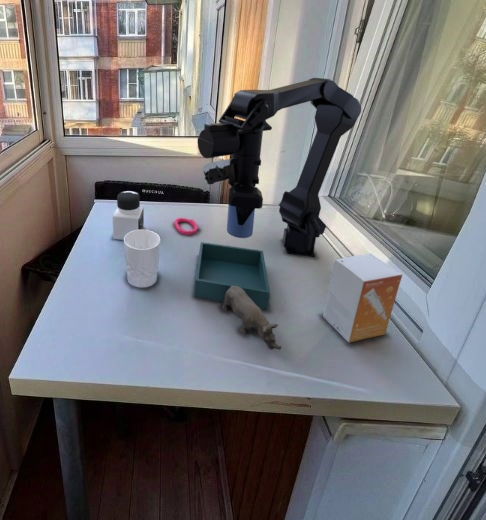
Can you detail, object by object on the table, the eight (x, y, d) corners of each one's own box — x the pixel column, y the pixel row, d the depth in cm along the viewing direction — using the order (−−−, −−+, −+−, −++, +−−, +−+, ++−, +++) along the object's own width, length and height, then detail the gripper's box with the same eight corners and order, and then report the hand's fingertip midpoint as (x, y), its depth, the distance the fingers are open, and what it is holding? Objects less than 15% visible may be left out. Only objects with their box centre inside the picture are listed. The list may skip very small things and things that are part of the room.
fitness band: (201, 234, 91) (201, 229, 91) (181, 236, 90) (181, 232, 90) (190, 220, 99) (190, 215, 99) (171, 222, 98) (171, 217, 97)
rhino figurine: (268, 367, 54) (272, 337, 52) (217, 307, 66) (220, 282, 64) (287, 358, 55) (292, 329, 53) (234, 302, 67) (237, 277, 65)
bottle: (251, 226, 77) (255, 183, 74) (253, 239, 72) (257, 194, 69) (226, 223, 78) (229, 181, 75) (226, 236, 73) (229, 191, 70)
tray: (260, 266, 78) (262, 250, 77) (267, 310, 65) (270, 292, 64) (199, 257, 82) (200, 241, 80) (194, 297, 68) (195, 280, 67)
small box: (348, 344, 58) (363, 281, 54) (321, 316, 63) (333, 258, 60) (386, 335, 59) (403, 274, 55) (356, 309, 65) (370, 252, 61)
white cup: (164, 272, 76) (165, 234, 73) (151, 294, 69) (152, 253, 66) (133, 263, 79) (133, 226, 76) (118, 283, 72) (117, 244, 69)
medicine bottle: (138, 242, 88) (138, 201, 84) (112, 239, 89) (111, 198, 86) (143, 228, 95) (143, 189, 91) (119, 225, 96) (118, 187, 92)
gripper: (208, 138, 80) (205, 196, 85) (204, 163, 63) (200, 235, 67) (257, 140, 77) (251, 201, 82) (266, 168, 60) (258, 242, 65)
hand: (239, 218), depth 74 cm, fingers closed on bottle, 6 cm apart
